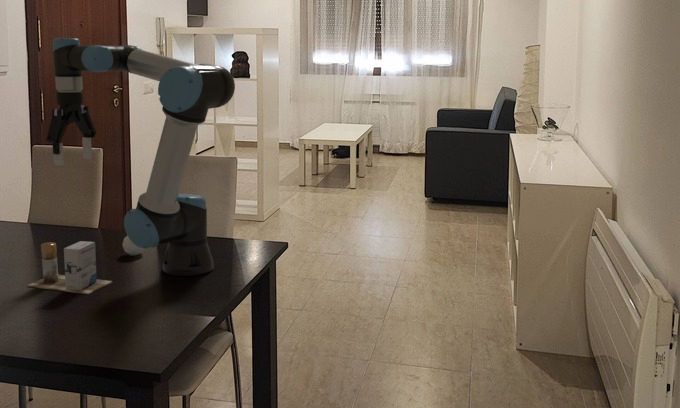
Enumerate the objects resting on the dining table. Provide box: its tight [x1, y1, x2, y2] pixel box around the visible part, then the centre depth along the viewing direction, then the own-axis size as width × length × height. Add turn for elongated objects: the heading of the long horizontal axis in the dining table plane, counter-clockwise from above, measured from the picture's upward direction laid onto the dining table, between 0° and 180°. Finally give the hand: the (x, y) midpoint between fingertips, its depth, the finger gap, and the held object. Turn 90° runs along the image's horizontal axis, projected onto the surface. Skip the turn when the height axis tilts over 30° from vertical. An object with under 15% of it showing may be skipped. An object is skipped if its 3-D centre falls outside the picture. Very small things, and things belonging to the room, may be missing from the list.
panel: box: [27, 274, 113, 295], centre depth 209 cm, size 20×11×1 cm, turn 73°
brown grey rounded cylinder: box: [40, 241, 59, 284], centre depth 209 cm, size 4×4×11 cm
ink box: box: [63, 240, 97, 290], centre depth 206 cm, size 9×5×12 cm, turn 167°
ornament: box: [122, 235, 145, 256], centre depth 239 cm, size 7×7×8 cm
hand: (73, 161), depth 224 cm, fingers open, 13 cm apart
